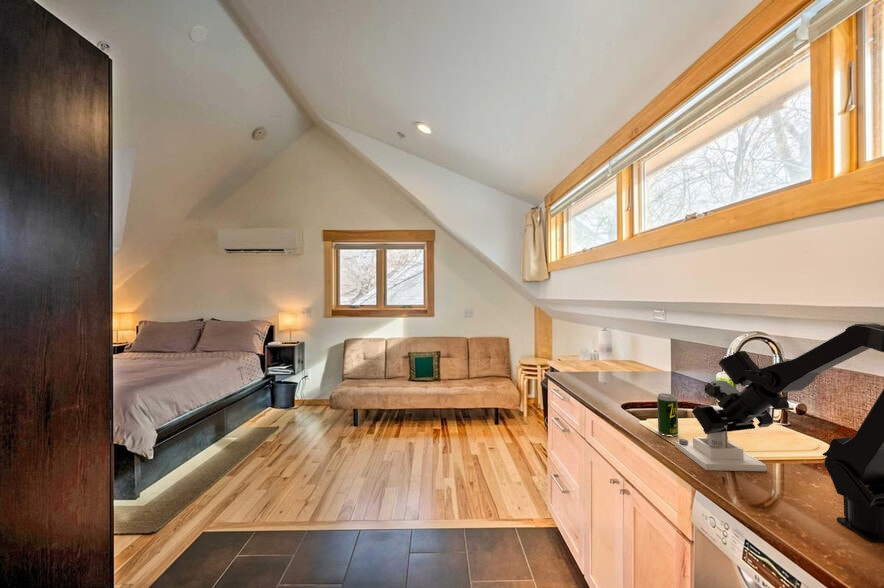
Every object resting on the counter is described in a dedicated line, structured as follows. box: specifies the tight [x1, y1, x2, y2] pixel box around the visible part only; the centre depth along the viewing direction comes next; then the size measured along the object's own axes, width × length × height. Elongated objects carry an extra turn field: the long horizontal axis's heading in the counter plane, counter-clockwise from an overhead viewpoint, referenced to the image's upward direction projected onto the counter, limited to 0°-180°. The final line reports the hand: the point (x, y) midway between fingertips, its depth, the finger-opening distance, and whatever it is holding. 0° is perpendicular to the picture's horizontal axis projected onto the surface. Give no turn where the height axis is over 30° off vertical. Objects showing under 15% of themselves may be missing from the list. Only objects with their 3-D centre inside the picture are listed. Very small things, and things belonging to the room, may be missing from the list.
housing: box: [674, 436, 768, 472], centre depth 98 cm, size 14×14×4 cm
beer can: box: [656, 392, 679, 437], centre depth 115 cm, size 5×5×12 cm
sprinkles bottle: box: [706, 405, 729, 448], centre depth 98 cm, size 5×5×14 cm
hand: (712, 431), depth 99 cm, fingers closed on sprinkles bottle, 4 cm apart
